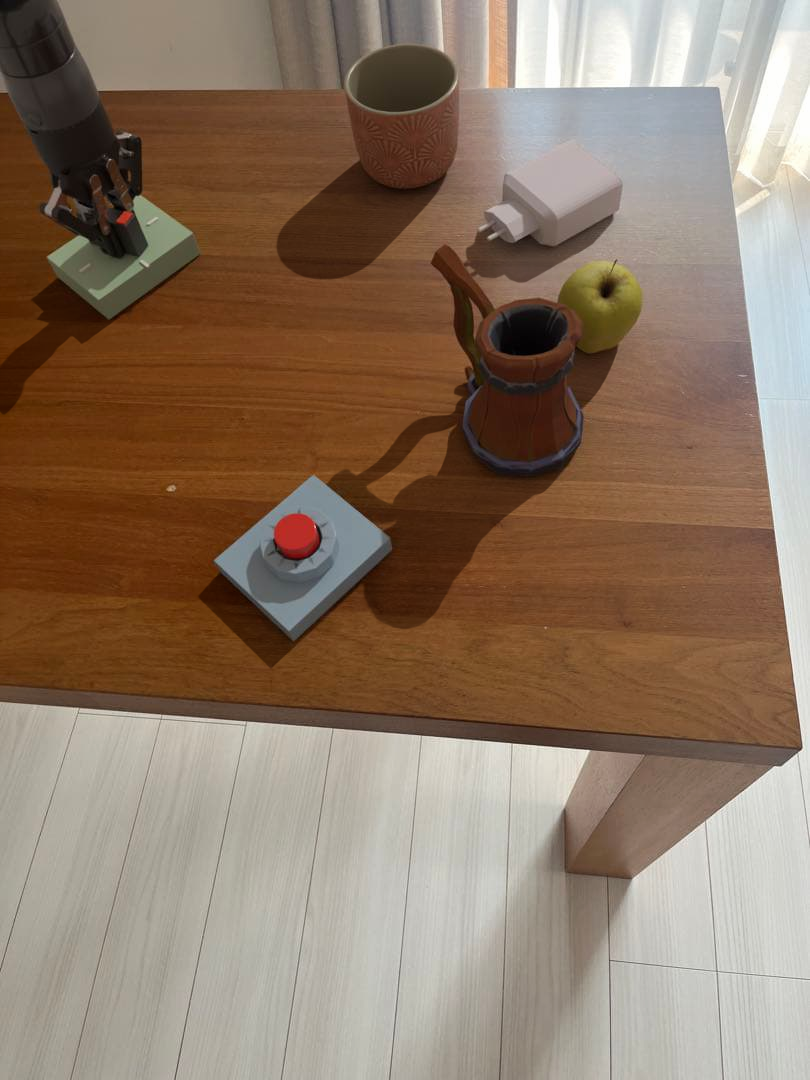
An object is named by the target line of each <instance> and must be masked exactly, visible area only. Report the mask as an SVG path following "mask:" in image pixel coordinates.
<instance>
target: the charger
mask: <svg viewBox="0 0 810 1080" xmlns="http://www.w3.org/2000/svg"><path fill="white" fill-rule="evenodd" d="M502 182H503V183H502V198H501V199H502V201H501V202H499V203H497V204H496V205H494V206H492V207H490V208H488V209H486V210H484V211H483V215H484V218H485V220H486V221H487V223H485V224H483V225H481V226H479V227H478V228H477V232H478V233H481V232H484V231H485V230H487V229H489V228H491V229H492V231H494V233H492V234H490V235H489V236H487V237H486V240H487V241H488V242H492V240H495V239H497V238H498V237H500V238H501V239H503V241H505V242H508V243H511V244H514V243H515V242H518V241H519V240H521V239H523V238H524V237H527V236H528V235H530V236H531V237H532V238H533V239H534V240H535V241H536V242H538V243H539V244H540V245H544V246H549V247H556V246H558V245H559V244H562V243H563V242H565V241H567V240H568V239H570V238H572V237H574V236H576V235H578V234H579V233H582V232H583V231H584V230H586V229H588V228H590V227H592V226H593V225H595V224H597V223H599V222H601V221H603V220H604V219H606V218H607V217H609V216H611V215H613V214H615V213H617V212H618V211H619V210H620V207H621V206H620V205H621V199H622V194H623V193H622V192H623V181H622V179H621V177H620V176H619V175H618V174H617V173H616V171H615V170H613V169H612V168H610V167H609V166H608V165H606V164H605V163H604V162H603V161H601V160H600V159H599V158H598V157H596V156H595V155H594V154H593V153H592V152H590V151H589V150H588V149H586V148H585V147H583V146H582V145H581V144H580V143H578V142H577V141H576V140H573V139H568V140H567V141H564V142H563V143H560V144H559V145H557V146H555V147H553V148H551V149H550V150H548V151H545V152H544V153H542V154H540V155H538V156H536V157H535V158H532V159H531V160H529V161H527V162H525V163H523V164H522V165H520V166H518V167H516V168H514V169H512V170H510V171H508V172H506V173H505V174H504V176H503V181H502Z"/></svg>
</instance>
